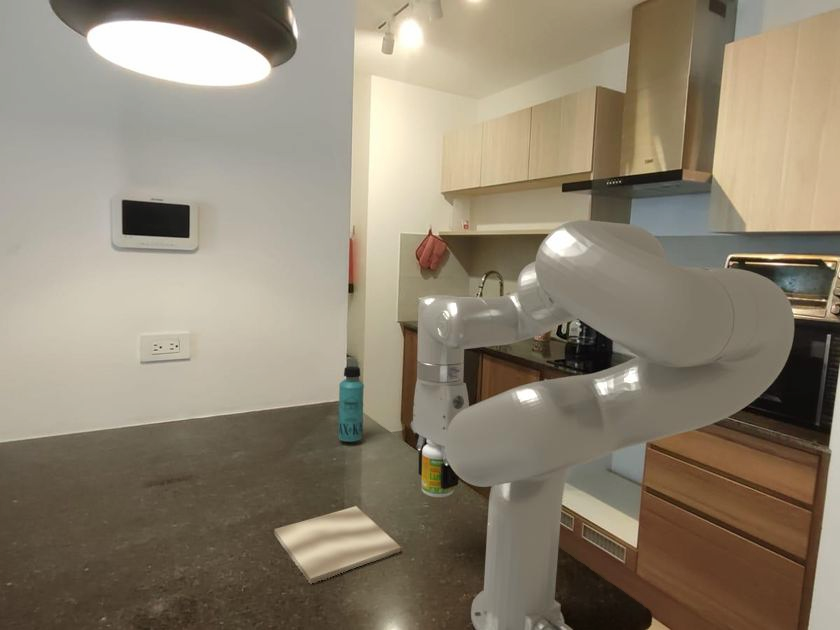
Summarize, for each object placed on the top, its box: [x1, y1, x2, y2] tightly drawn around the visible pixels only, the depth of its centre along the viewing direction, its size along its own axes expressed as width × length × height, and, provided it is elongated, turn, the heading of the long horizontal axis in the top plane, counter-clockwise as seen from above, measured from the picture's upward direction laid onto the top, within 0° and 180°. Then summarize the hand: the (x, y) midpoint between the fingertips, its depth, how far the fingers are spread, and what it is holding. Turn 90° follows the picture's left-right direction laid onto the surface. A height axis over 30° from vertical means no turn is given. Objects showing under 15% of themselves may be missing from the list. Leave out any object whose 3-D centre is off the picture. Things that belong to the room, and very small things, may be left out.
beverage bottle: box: [337, 366, 365, 442], centre depth 133 cm, size 6×7×20 cm
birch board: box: [273, 505, 402, 585], centre depth 88 cm, size 16×16×1 cm
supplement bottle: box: [421, 439, 455, 498], centre depth 85 cm, size 5×5×10 cm
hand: (437, 478), depth 85 cm, fingers closed on supplement bottle, 5 cm apart
